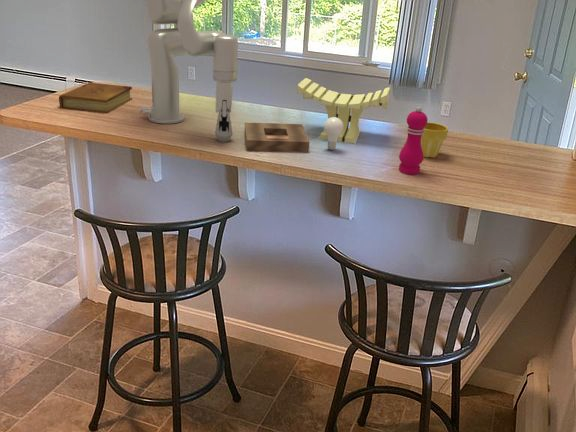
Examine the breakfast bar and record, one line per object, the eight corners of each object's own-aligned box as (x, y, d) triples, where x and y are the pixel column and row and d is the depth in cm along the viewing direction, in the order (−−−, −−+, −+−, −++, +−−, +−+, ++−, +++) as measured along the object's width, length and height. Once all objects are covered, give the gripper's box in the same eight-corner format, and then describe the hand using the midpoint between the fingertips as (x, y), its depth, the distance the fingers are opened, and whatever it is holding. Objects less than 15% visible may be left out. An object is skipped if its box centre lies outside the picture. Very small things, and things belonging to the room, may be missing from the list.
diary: (89, 96, 235) (87, 82, 233) (132, 100, 233) (131, 86, 231) (60, 109, 214) (58, 94, 212) (107, 114, 212) (106, 99, 210)
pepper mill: (394, 166, 178) (403, 102, 170) (417, 167, 179) (427, 103, 170) (400, 174, 172) (410, 109, 163) (423, 175, 172) (435, 110, 164)
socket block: (246, 150, 183) (246, 139, 182) (244, 132, 201) (244, 121, 200) (308, 152, 185) (309, 141, 184) (301, 133, 203) (301, 123, 202)
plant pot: (442, 151, 195) (447, 123, 191) (444, 161, 186) (449, 132, 182) (411, 148, 196) (415, 120, 192) (411, 157, 187) (416, 128, 183)
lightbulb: (343, 148, 191) (346, 116, 186) (338, 154, 185) (341, 121, 181) (324, 145, 193) (327, 113, 188) (319, 151, 187) (322, 118, 183)
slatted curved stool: (384, 134, 209) (390, 85, 202) (379, 147, 195) (386, 95, 188) (303, 124, 215) (307, 76, 207) (294, 135, 201) (297, 84, 193)
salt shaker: (233, 138, 194) (235, 100, 188) (230, 143, 189) (231, 104, 183) (216, 136, 194) (217, 98, 189) (213, 141, 189) (213, 102, 184)
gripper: (213, 69, 189) (212, 123, 197) (212, 80, 175) (212, 138, 182) (236, 70, 190) (234, 124, 198) (237, 81, 175) (235, 139, 183)
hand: (223, 130), depth 190 cm, fingers closed on salt shaker, 3 cm apart
